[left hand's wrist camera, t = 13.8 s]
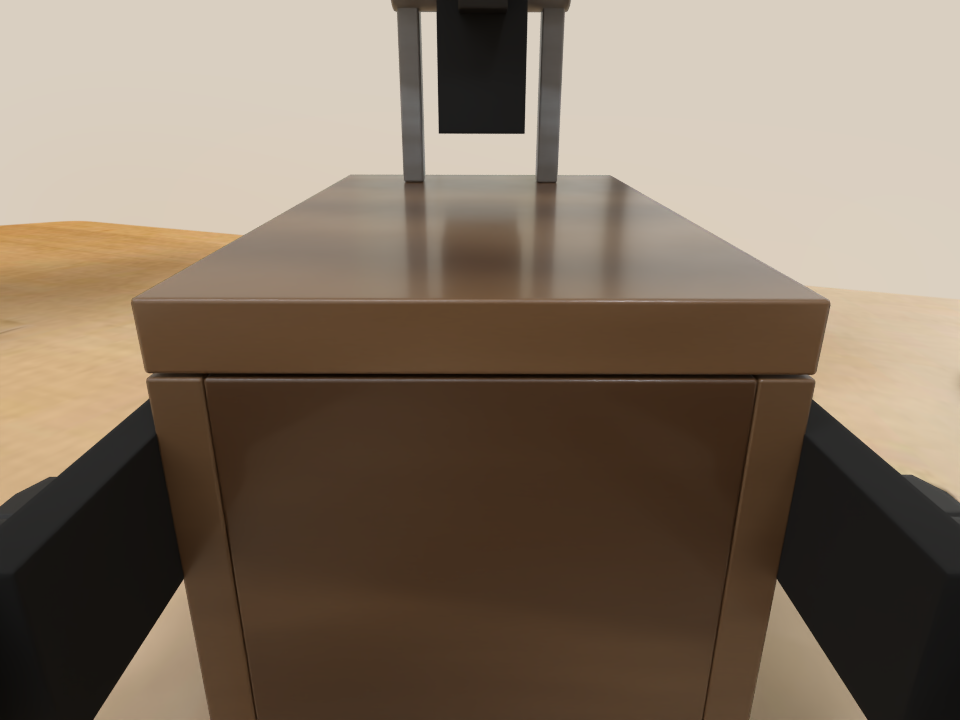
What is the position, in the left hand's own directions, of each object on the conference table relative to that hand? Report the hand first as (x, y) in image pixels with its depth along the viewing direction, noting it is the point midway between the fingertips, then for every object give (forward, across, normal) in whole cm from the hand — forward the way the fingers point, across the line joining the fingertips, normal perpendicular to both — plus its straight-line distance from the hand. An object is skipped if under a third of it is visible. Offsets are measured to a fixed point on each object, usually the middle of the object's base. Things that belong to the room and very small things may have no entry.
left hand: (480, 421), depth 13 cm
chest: (+5, 0, -7) cm, 8 cm away
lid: (+5, 0, +3) cm, 6 cm away
